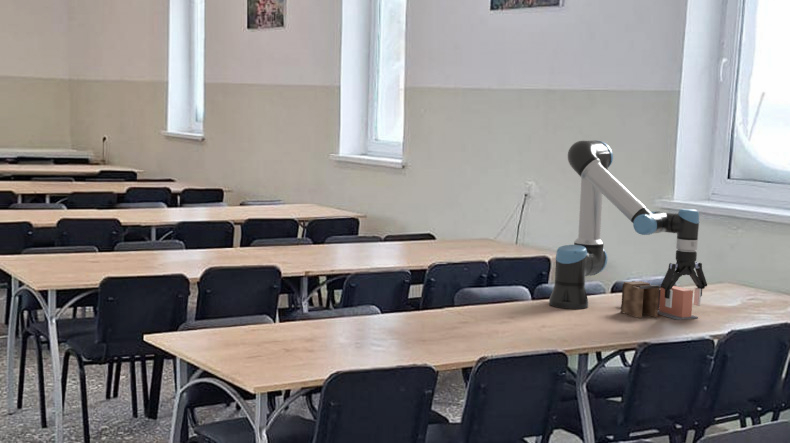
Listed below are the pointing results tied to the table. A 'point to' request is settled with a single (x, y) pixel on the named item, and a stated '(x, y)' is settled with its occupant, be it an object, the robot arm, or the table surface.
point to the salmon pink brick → (677, 302)
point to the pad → (675, 316)
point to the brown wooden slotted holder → (640, 299)
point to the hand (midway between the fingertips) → (682, 306)
